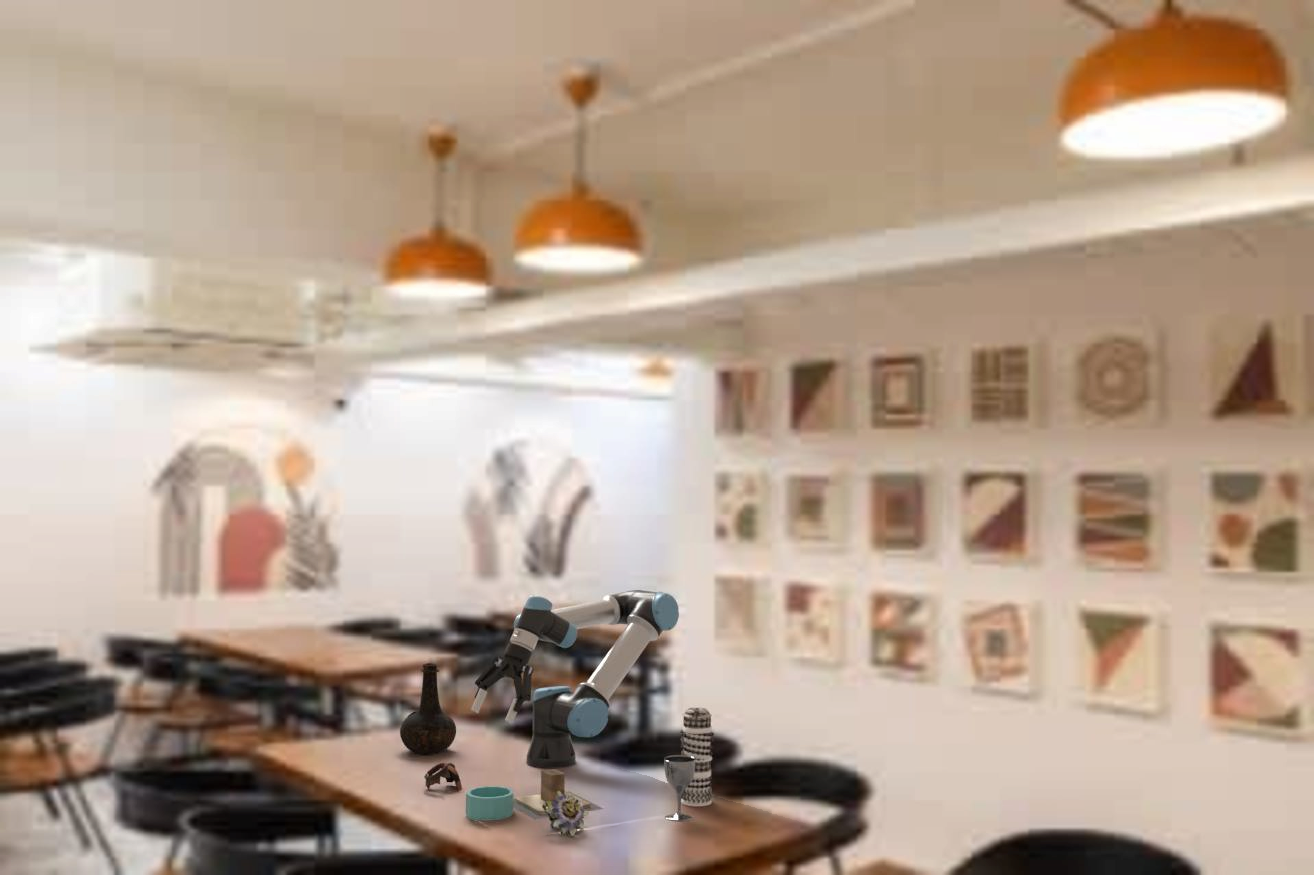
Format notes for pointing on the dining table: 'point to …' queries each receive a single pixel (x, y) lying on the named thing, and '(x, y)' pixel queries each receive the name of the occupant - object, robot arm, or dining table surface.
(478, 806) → the bowl
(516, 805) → the mat
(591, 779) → the dining table surface
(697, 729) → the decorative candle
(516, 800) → the lid
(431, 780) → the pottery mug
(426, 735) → the glass bottle
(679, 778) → the wine glass
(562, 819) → the passion flower
